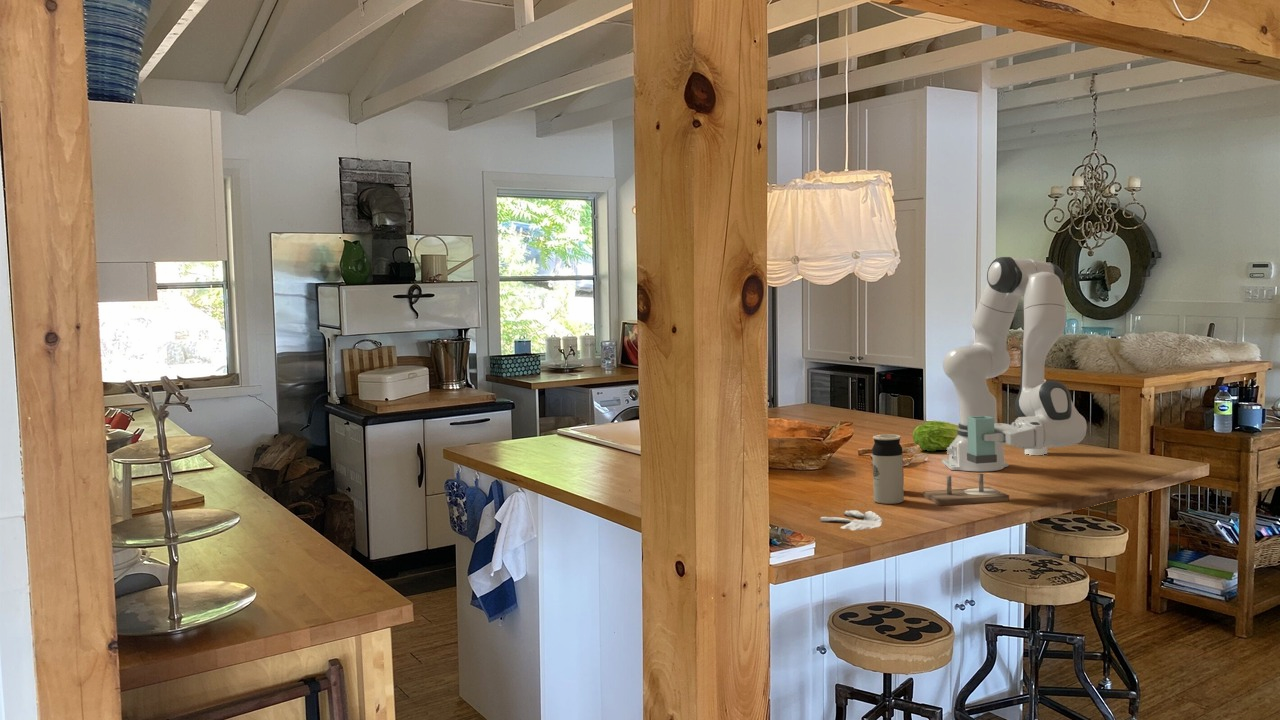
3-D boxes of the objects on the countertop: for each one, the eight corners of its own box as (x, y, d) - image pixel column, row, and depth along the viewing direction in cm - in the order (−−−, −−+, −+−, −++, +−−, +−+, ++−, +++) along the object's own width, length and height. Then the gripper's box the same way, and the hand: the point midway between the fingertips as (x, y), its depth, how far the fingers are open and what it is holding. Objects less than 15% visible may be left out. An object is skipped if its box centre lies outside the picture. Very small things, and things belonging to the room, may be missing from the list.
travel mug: (901, 498, 274) (899, 433, 273) (906, 504, 266) (904, 438, 265) (872, 498, 275) (870, 434, 274) (875, 504, 267) (873, 438, 266)
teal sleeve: (967, 460, 272) (965, 416, 271) (987, 458, 272) (986, 415, 272) (976, 463, 266) (974, 419, 265) (996, 462, 267) (995, 418, 266)
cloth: (856, 536, 237) (856, 526, 237) (791, 522, 255) (791, 512, 255) (911, 521, 249) (911, 512, 249) (846, 509, 267) (845, 500, 267)
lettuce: (991, 435, 344) (975, 411, 354) (930, 437, 338) (914, 412, 347) (978, 460, 351) (962, 435, 361) (918, 462, 345) (903, 437, 354)
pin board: (923, 496, 275) (922, 473, 274) (989, 492, 276) (988, 469, 276) (940, 505, 263) (939, 481, 262) (1009, 500, 264) (1008, 476, 264)
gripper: (1008, 417, 280) (961, 419, 279) (1044, 425, 260) (994, 429, 258) (1008, 439, 280) (962, 442, 279) (1045, 449, 260) (995, 452, 259)
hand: (977, 435), depth 269 cm, fingers closed on teal sleeve, 5 cm apart
